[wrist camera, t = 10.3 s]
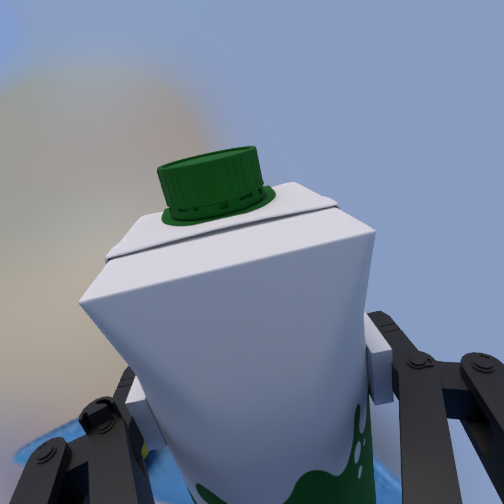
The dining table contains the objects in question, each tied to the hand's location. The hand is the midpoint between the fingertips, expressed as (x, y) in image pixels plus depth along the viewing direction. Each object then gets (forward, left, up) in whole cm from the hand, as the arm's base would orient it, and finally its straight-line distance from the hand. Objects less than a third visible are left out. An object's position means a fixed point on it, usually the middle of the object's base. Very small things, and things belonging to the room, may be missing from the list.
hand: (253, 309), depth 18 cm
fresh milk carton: (0, -5, -11) cm, 12 cm away
